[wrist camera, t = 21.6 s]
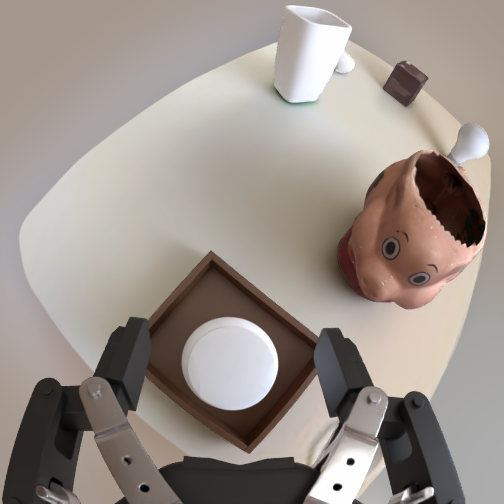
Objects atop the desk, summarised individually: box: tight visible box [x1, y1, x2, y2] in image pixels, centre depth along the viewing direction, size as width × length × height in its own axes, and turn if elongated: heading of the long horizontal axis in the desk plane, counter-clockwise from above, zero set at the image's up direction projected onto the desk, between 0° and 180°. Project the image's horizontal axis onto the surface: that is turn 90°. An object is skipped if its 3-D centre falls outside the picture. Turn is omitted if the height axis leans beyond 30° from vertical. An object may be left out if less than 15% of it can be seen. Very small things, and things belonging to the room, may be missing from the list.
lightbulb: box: [447, 123, 489, 166], centre depth 32 cm, size 6×6×11 cm
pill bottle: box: [182, 317, 278, 410], centre depth 18 cm, size 6×6×11 cm
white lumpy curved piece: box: [335, 50, 355, 74], centre depth 38 cm, size 6×8×12 cm
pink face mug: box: [338, 150, 487, 309], centre depth 23 cm, size 20×12×14 cm, turn 137°
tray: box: [145, 251, 319, 454], centre depth 23 cm, size 14×12×3 cm
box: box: [383, 61, 428, 106], centre depth 39 cm, size 6×6×7 cm
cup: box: [274, 5, 352, 103], centre depth 30 cm, size 7×7×15 cm
